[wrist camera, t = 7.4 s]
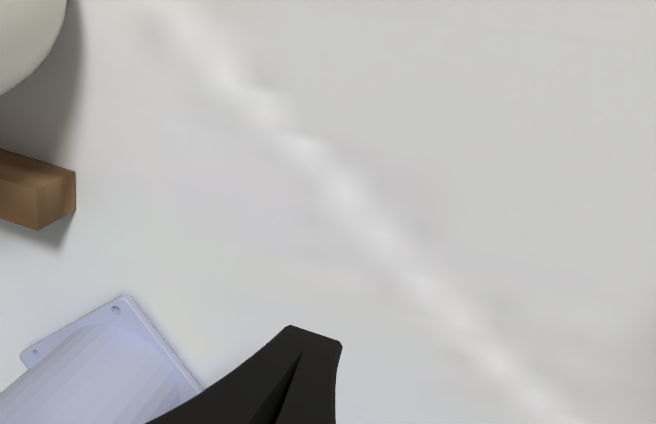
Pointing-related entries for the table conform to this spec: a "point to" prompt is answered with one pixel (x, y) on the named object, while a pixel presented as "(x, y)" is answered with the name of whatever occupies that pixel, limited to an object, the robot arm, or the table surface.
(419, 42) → the table surface
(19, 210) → the yoke
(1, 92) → the lidded jar
